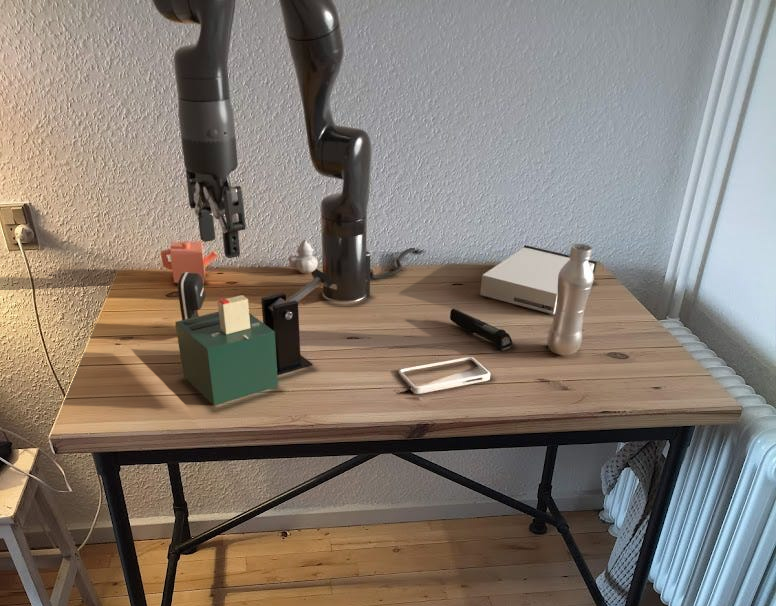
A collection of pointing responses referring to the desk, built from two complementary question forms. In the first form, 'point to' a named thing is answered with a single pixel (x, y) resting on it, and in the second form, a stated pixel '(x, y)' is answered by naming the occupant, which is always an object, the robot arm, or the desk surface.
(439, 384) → the phone case
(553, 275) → the disc drive
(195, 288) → the black computer mouse
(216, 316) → the toaster slots
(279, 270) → the desk surface
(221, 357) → the toaster
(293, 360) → the black lever stand
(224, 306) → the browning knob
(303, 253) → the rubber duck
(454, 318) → the electric trimmer
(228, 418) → the desk surface
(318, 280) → the lever
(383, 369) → the desk surface
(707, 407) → the desk surface
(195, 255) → the pink cube teapot
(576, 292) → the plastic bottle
